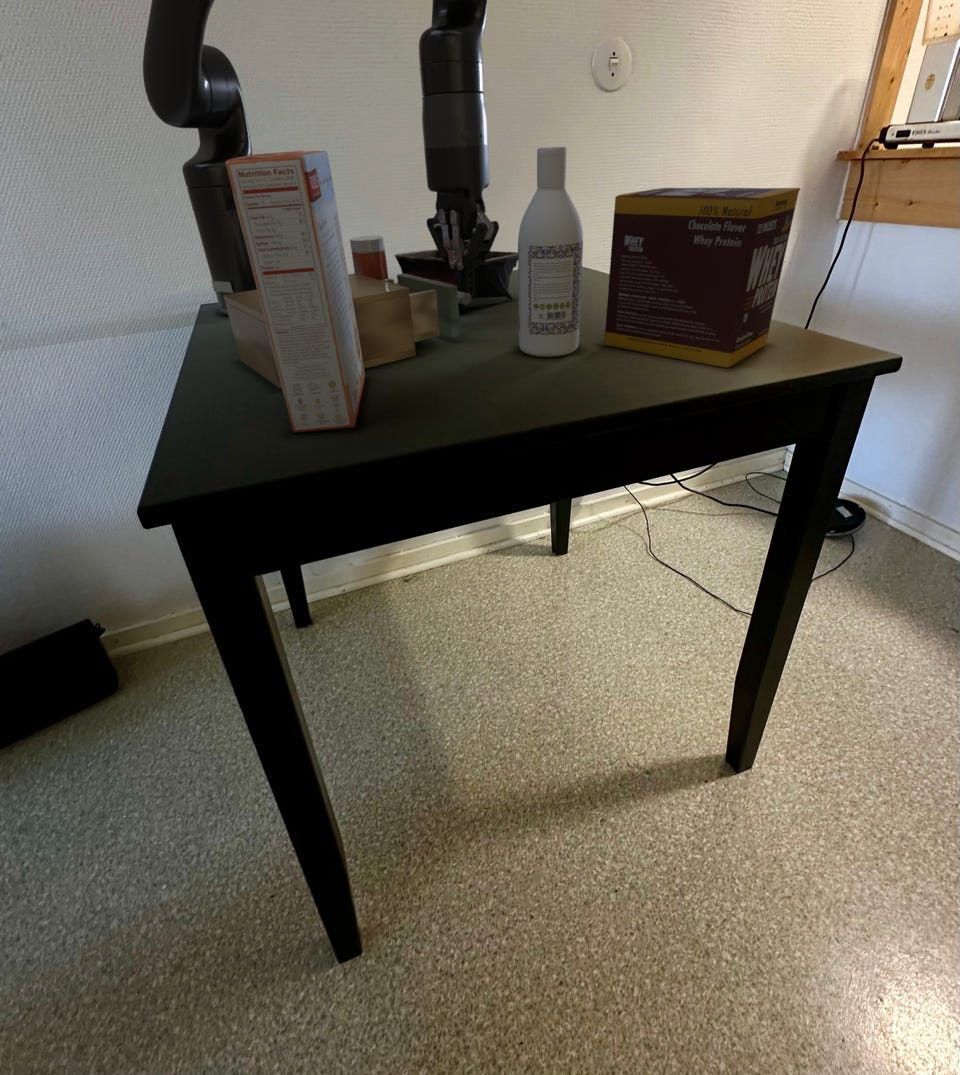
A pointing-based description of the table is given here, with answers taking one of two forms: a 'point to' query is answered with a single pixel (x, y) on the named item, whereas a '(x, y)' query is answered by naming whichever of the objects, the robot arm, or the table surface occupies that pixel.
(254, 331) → the cabinet
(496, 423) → the table surface
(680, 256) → the supplement box
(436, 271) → the baking dish
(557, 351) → the bath foam
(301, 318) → the cracker box
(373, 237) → the salt shaker
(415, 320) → the drawer
